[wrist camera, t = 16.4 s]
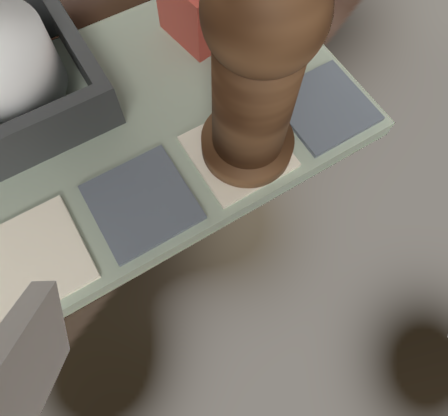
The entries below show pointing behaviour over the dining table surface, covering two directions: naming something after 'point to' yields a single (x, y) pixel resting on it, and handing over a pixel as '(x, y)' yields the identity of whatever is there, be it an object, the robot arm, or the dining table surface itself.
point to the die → (184, 25)
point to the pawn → (257, 82)
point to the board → (141, 156)
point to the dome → (27, 62)
